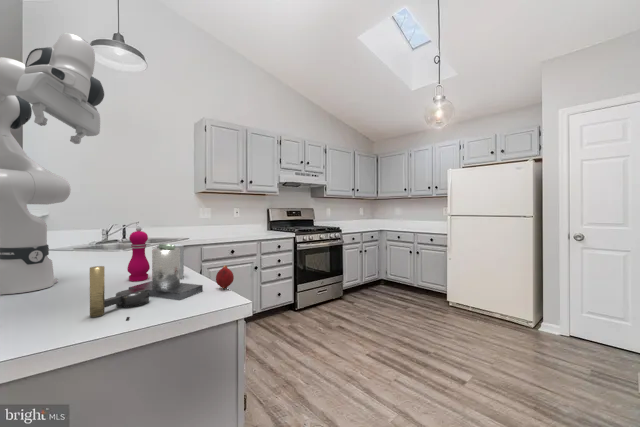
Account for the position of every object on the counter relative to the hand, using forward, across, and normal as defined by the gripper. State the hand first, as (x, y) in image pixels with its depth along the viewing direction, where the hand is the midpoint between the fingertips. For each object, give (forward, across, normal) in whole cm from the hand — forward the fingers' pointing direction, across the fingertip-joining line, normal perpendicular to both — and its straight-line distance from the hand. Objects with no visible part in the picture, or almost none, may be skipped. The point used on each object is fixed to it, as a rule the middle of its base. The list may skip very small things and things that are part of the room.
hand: (58, 134), depth 77 cm
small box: (+35, -48, +4) cm, 60 cm away
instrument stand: (+43, -23, +12) cm, 50 cm away
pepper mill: (+35, -45, -7) cm, 58 cm away
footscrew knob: (+44, -17, +11) cm, 48 cm away
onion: (+40, -38, +30) cm, 63 cm away
